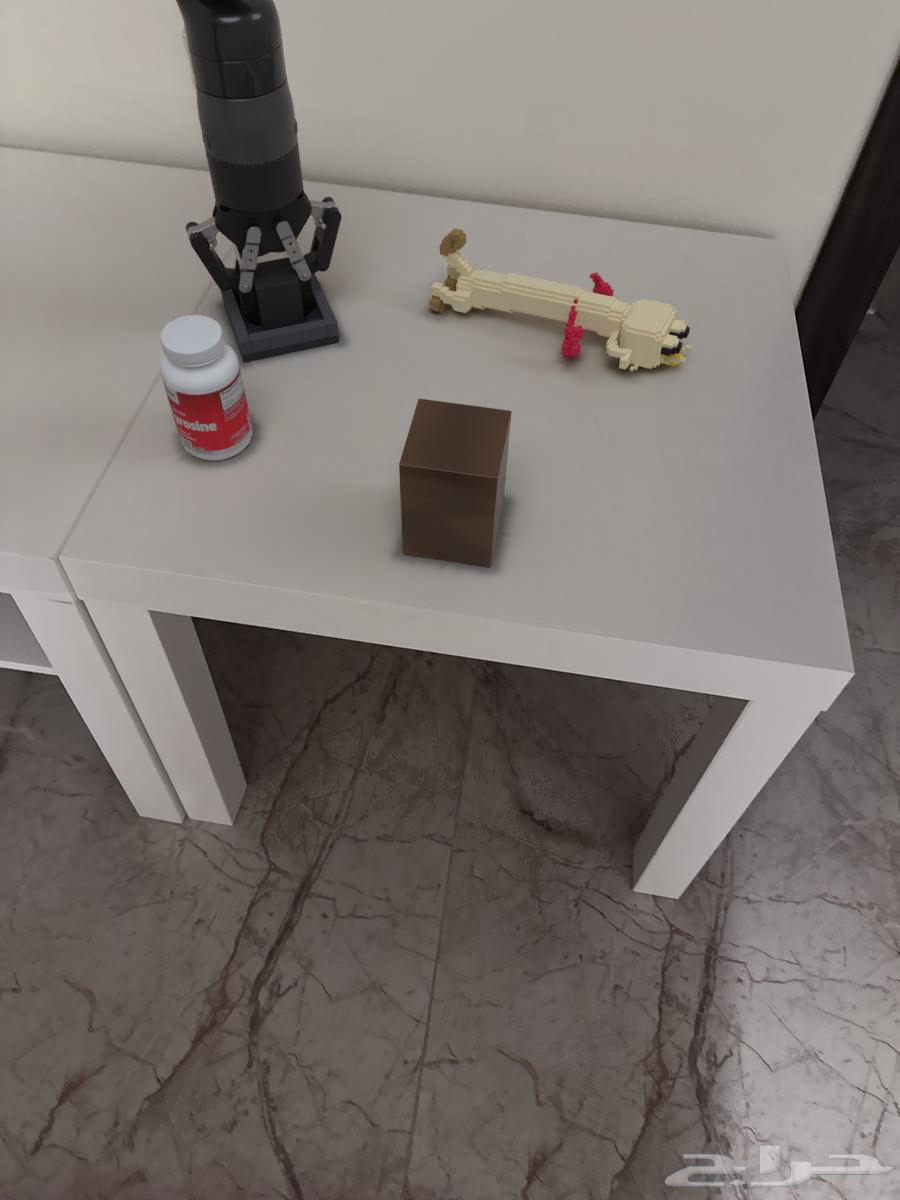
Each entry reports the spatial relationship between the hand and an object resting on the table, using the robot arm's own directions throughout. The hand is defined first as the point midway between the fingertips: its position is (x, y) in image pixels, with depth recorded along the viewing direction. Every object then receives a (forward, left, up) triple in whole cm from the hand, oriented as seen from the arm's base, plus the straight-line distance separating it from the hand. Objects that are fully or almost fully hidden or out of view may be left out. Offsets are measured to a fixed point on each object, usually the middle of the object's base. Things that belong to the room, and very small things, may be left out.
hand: (278, 313), depth 89 cm
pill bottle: (-9, -14, -1) cm, 16 cm away
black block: (0, 0, 0) cm, 0 cm away
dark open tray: (0, 0, -1) cm, 1 cm away
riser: (+7, -30, -1) cm, 31 cm away
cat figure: (+25, -10, -1) cm, 27 cm away
